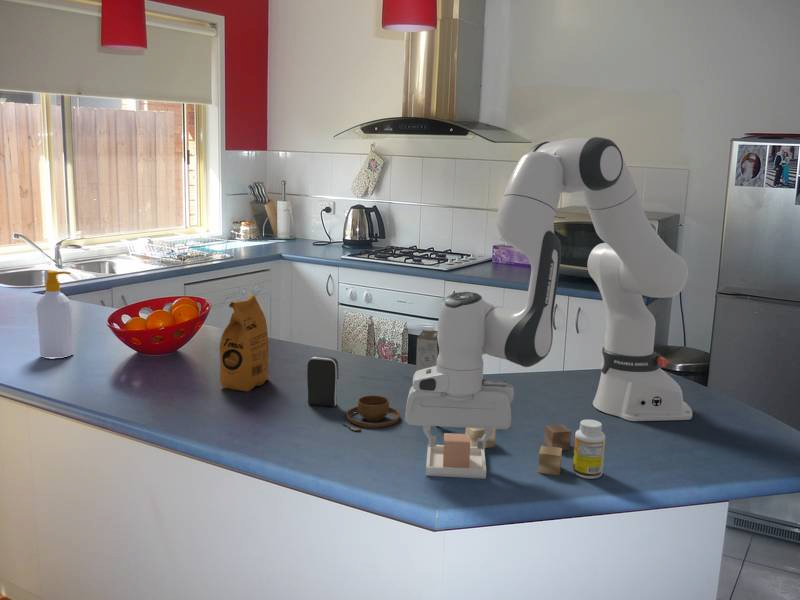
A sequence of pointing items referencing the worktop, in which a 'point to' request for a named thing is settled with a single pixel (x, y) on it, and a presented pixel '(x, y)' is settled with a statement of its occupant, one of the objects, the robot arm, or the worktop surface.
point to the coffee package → (244, 347)
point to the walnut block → (558, 436)
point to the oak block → (550, 460)
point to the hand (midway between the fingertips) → (456, 447)
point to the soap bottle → (55, 320)
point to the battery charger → (322, 381)
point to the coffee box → (427, 350)
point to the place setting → (373, 411)
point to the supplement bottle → (589, 450)
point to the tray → (436, 468)
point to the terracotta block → (456, 450)
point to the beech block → (479, 433)
